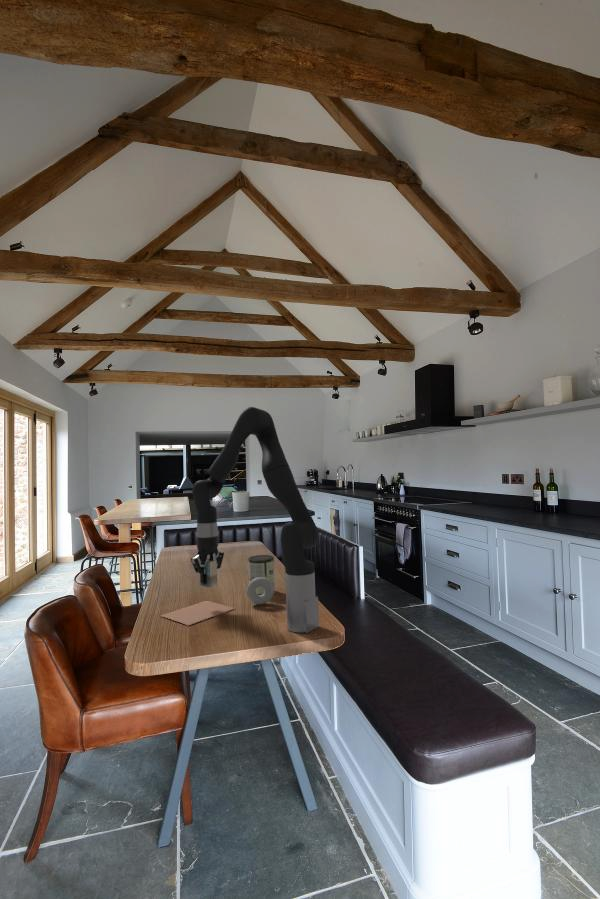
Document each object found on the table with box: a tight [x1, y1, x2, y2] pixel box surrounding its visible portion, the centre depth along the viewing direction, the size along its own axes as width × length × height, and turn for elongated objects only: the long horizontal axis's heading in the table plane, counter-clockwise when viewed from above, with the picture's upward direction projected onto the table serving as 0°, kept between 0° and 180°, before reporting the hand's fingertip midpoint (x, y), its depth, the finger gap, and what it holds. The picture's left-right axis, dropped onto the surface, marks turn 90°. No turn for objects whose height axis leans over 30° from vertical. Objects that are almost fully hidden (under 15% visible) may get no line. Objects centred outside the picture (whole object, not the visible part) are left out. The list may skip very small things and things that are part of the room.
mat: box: [160, 600, 236, 627], centre depth 156 cm, size 16×20×1 cm
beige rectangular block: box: [199, 560, 218, 589], centre depth 160 cm, size 6×3×9 cm, turn 50°
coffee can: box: [247, 554, 276, 595], centre depth 178 cm, size 10×10×14 cm
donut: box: [246, 577, 274, 605], centre depth 163 cm, size 10×4×10 cm, turn 98°
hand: (208, 582), depth 160 cm, fingers closed on beige rectangular block, 3 cm apart
